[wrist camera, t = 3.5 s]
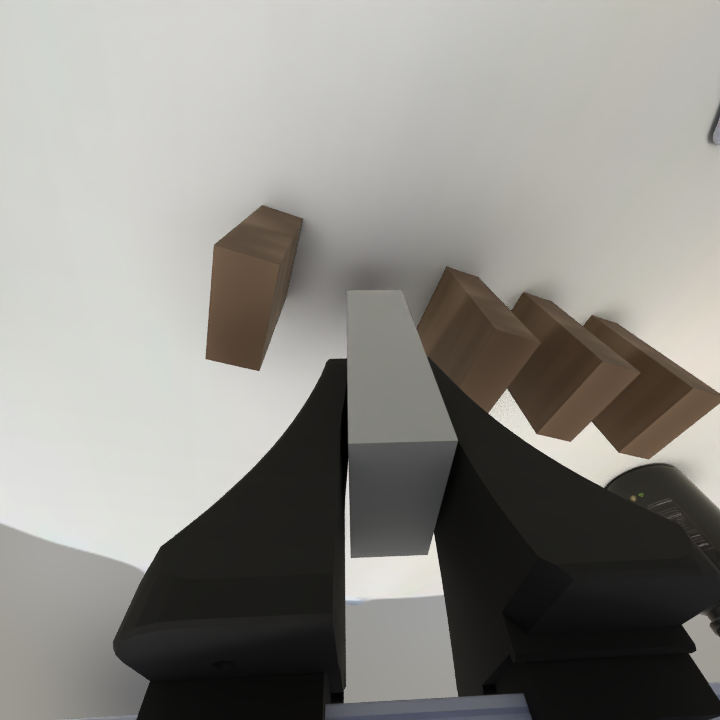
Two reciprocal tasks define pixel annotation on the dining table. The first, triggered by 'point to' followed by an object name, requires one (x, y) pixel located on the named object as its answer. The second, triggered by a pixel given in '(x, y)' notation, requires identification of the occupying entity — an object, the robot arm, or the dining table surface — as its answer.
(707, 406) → the domino
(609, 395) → the domino
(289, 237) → the domino
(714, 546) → the supplement bottle
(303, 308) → the dining table surface
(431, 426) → the domino
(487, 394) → the domino
